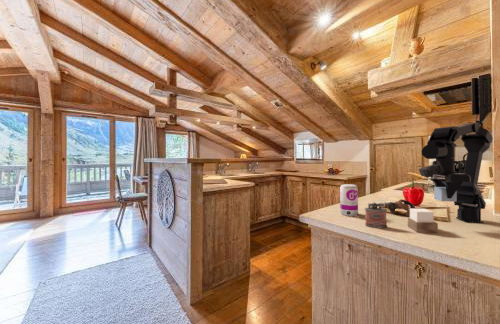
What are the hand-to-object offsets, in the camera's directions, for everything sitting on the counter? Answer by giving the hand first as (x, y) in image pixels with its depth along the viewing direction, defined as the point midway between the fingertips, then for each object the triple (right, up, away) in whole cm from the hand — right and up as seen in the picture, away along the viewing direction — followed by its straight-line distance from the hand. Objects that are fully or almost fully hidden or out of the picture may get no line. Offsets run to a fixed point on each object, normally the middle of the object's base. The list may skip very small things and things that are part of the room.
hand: (445, 197), depth 89 cm
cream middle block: (-11, -9, -1) cm, 14 cm away
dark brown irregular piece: (-4, -12, +21) cm, 25 cm away
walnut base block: (-10, -13, -1) cm, 17 cm away
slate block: (0, -1, 0) cm, 1 cm away
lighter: (-25, -13, +4) cm, 29 cm away
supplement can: (-28, -13, +23) cm, 39 cm away
